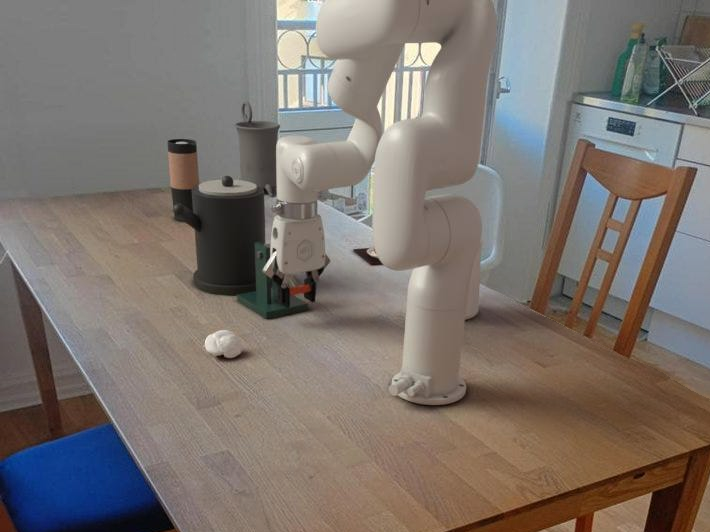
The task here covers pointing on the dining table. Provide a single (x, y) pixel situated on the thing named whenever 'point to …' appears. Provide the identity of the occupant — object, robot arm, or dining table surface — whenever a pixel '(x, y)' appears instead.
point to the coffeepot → (474, 286)
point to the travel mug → (183, 171)
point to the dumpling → (223, 344)
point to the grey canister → (257, 150)
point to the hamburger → (368, 255)
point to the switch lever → (295, 284)
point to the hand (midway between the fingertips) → (297, 301)
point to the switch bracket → (267, 291)
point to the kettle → (225, 234)
